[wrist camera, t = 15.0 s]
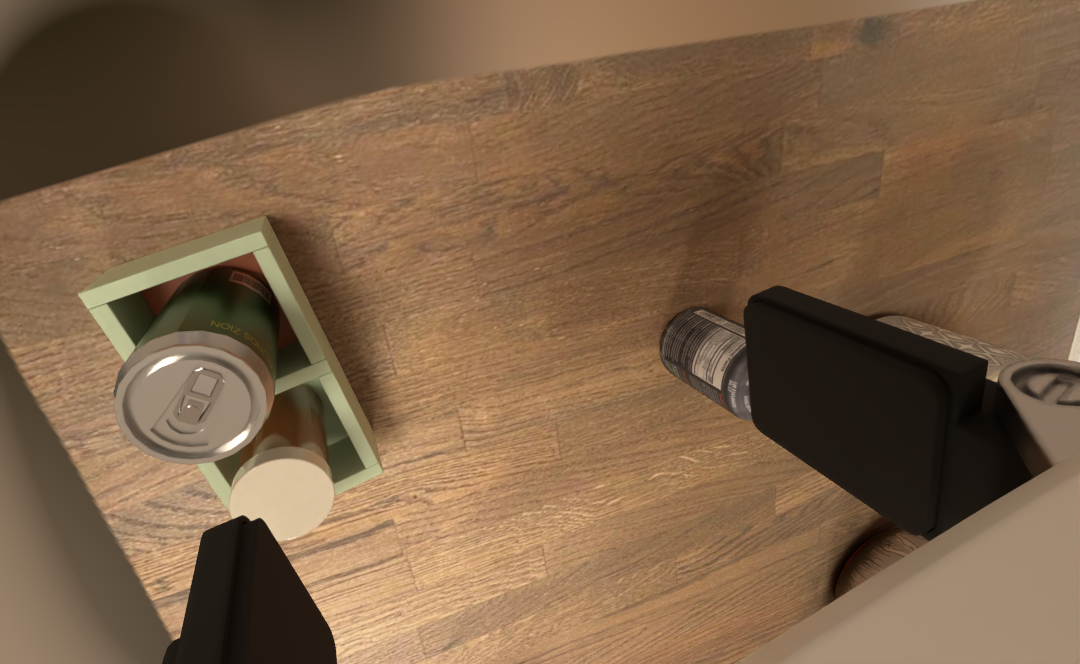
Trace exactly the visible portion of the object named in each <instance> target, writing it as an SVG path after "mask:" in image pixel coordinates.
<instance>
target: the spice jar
mask: <svg viewBox="0 0 1080 664" xmlns="http://www.w3.org/2000/svg"><path fill="white" fill-rule="evenodd" d="M334 499H335V490H334V480H333V474H332V471H331V469H330V461H329V451H328V441H327V431H326V421H325V411H324V405H323V402H322V400H321V398H320V396H319V395H318V394H317V393H316V392H315V391H314V390H313V389H311V388H310V387H308V386H306V385H304V384H300V385H298V386H295V387H293V388H291V389H288V390H286V391H283V392H281V393H279V394H276V395H275V396H274V401H273V405H272V408H271V411H270V415H269V417H268V419H267V420H266V421H265V423H264V424H263V425H262V427H261V429H260V430H259V431H258V433H257V434H256V435H255V437H254V438H253V439H252V441H251V442H250V443H249V444H247V445H246V446H244V447H243V448H242V449H240V454H239V460H238V465H237V471H236V475H235V477H234V480H233V483H232V487H231V493H230V499H229V511H230V515H231V517H232V519H234V518H237V517H239V516H241V515H244V516H246V517H247V518H249V519H250V521H253V520H255V519H257V518H262V519H263V520H264V521H265V523H266V524H267V526H268V527H269V529H270V531H271V532H272V534H273V536H274V537H275V539H276V540H277V541H286V540H291V539H294V538H298V537H300V536H303V535H305V534H307V533H309V532H310V531H312V530H313V529H315V528H316V527H317V526H319V525H320V524H321V523H322V522H323V521H324V520H325V518H326V517H327V516H328V514H329V512H330V511H331V509H332V506H333V503H334Z"/></svg>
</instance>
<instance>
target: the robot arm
mask: <svg viewBox="0 0 1080 664" xmlns="http://www.w3.org/2000/svg"><path fill="white" fill-rule="evenodd" d="M744 328H745V341H746V354H747V367H748V380H749V393H750V407H751V417H752V420H753V423H754V424H755V426H756V427H757V429H758V430H759V431H760V432H762V433H763V434H764V435H766V436H767V437H769V438H770V439H772V440H773V441H775V442H776V443H777V444H779V445H780V446H782V447H783V448H785V449H786V450H788V451H789V452H791V453H792V454H793V455H795V456H796V457H798V458H799V459H801V460H802V461H804V462H805V463H807V464H808V465H809V466H811V467H812V468H814V469H815V470H817V471H818V472H820V473H821V474H823V475H824V476H825V477H827V478H828V479H830V480H831V481H833V482H834V483H836V484H837V485H839V486H840V487H841V488H843V489H844V490H846V491H847V492H849V493H850V494H852V495H853V496H855V497H856V498H858V499H859V500H860V501H862V502H863V503H865V504H866V505H868V506H869V507H871V508H872V509H874V510H875V511H876V512H878V513H879V514H881V515H882V516H884V517H885V518H887V519H888V520H890V521H891V522H892V523H894V524H895V525H897V526H898V527H900V528H901V529H903V530H904V531H906V532H907V533H909V534H911V535H915V536H922V537H923V538H925V539H926V540H928V541H929V542H928V543H926V544H924V545H923V546H921V547H919V548H918V549H916V550H915V551H913V552H911V553H910V554H908V555H907V556H905V557H903V558H902V559H900V560H898V561H897V562H895V563H894V564H892V565H890V566H889V567H887V568H886V569H884V570H882V571H881V572H879V573H878V574H876V575H874V576H873V577H871V578H869V579H868V580H866V581H865V582H863V583H861V584H860V585H858V586H857V587H855V588H853V589H852V590H850V591H849V592H847V593H846V594H844V595H842V596H841V597H839V598H838V599H836V600H834V601H833V602H831V603H830V604H828V605H826V606H825V607H823V608H822V609H820V610H818V611H817V612H815V613H814V614H812V615H810V616H809V617H807V618H806V619H804V620H802V621H801V622H799V623H798V624H796V625H794V626H793V627H791V628H790V629H788V630H786V631H785V632H783V633H782V634H780V635H779V636H777V637H775V638H774V639H772V640H771V641H769V642H767V643H766V644H764V645H763V646H761V647H759V648H758V649H756V650H755V651H753V652H752V653H750V654H748V655H747V656H745V657H744V658H742V659H740V660H739V661H737V662H736V663H734V664H1080V363H1079V362H1075V361H1068V360H1062V359H1049V358H1035V359H1026V360H1020V361H1017V362H1014V363H1010V364H1008V365H1007V366H1005V367H1004V368H1003V369H1001V371H1000V373H999V376H998V380H997V382H995V381H992V380H989V379H987V378H986V375H987V368H988V361H989V360H986V359H984V358H981V357H978V356H975V355H973V354H970V353H967V352H964V351H961V350H959V349H956V348H953V347H950V346H947V345H945V344H942V343H939V342H936V341H934V340H931V339H928V338H925V337H922V336H920V335H917V334H914V333H911V332H908V331H906V330H903V329H900V328H897V327H895V326H892V325H889V324H886V323H883V322H881V321H878V320H875V319H872V318H869V317H867V316H864V315H861V314H858V313H856V312H853V311H850V310H847V309H844V308H842V307H839V306H836V305H833V304H830V303H828V302H825V301H822V300H819V299H817V298H814V297H811V296H808V295H805V294H803V293H800V292H797V291H794V290H792V289H789V288H786V287H783V286H774V287H771V288H769V289H767V290H764V291H762V292H760V293H757V294H755V295H753V296H752V297H750V298H749V301H748V306H746V307H745V309H744ZM162 664H337V658H336V647H335V642H334V638H333V635H332V632H331V630H330V628H329V626H328V624H327V622H326V621H325V619H324V617H323V616H322V614H321V612H320V611H319V609H318V607H317V606H316V604H315V603H314V601H313V599H312V598H311V596H310V594H309V593H308V591H307V590H306V588H305V586H304V585H303V583H302V581H301V580H300V578H299V576H298V575H297V573H296V572H295V570H294V568H293V567H292V565H291V563H290V562H289V560H288V558H287V557H286V555H285V554H284V552H283V550H282V549H281V547H280V545H279V544H278V542H277V540H276V539H275V537H274V536H273V534H272V532H271V531H270V529H269V527H268V526H267V524H266V523H265V521H264V520H263V519H262V518H257V519H255V520H253V521H250V519H249V518H247V517H246V516H244V515H241V516H239V517H237V518H234V519H232V520H230V521H227V522H225V523H223V524H220V525H218V526H216V527H213V528H211V529H209V530H206V531H205V532H204V533H203V535H202V537H201V542H200V547H199V551H198V556H197V561H196V565H195V570H194V575H193V580H192V584H191V589H190V594H189V598H188V603H187V608H186V613H185V617H184V622H183V627H182V631H181V636H180V638H179V639H177V640H174V641H173V642H172V643H171V644H170V645H169V647H168V648H167V651H166V653H165V656H164V659H163V663H162Z"/></svg>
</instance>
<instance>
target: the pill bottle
mask: <svg viewBox="0 0 1080 664" xmlns="http://www.w3.org/2000/svg"><path fill="white" fill-rule="evenodd" d="M660 356H661V359H662V362H663V364H664V366H665V368H666V369H667V370H668V371H669V372H670V373H672V374H673V375H674V376H676V377H677V378H679V379H681V380H682V381H684V382H685V383H687V384H688V385H690V386H691V387H693V388H694V389H696V390H697V391H699V392H700V393H702V394H703V395H705V396H706V397H708V398H709V399H711V400H713V401H714V402H716V403H717V404H719V405H720V406H722V407H723V408H725V409H726V410H728V411H729V412H731V413H732V414H734V415H735V416H737V417H739V418H741V419H743V420H747V421H753V420H752V417H751V407H750V393H749V380H748V367H747V354H746V341H745V328H744V325H741V324H739V323H737V322H734V321H732V320H730V319H728V318H725V317H723V316H721V315H719V314H717V313H714V312H712V311H710V310H707V309H704V308H692V309H688V310H686V311H684V312H682V313H681V314H679V315H678V316H677V317H675V318H674V319H673V320H672V321H671V323H670V324H669V325H668V327H667V328H666V330H665V332H664V334H663V337H662V340H661V345H660Z"/></svg>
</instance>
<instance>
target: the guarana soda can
mask: <svg viewBox="0 0 1080 664" xmlns="http://www.w3.org/2000/svg"><path fill="white" fill-rule="evenodd" d="M279 328H280V314H279V306H278V304H277V301H276V299H275V297H274V295H273V293H272V292H271V291H270V290H269V289H268V288H267V286H266V285H265V284H264V283H263V282H262V281H260V280H259V279H257V278H255V277H253V276H252V275H250V274H248V273H246V272H242V271H238V270H235V269H231V268H212V269H208V270H205V271H202V272H198V273H195V274H193V275H192V276H191V277H189V278H188V279H186V280H185V281H183V282H182V283H181V284H180V285H179V286H178V288H177V289H176V291H175V292H174V293H173V295H172V296H171V297H170V299H169V300H168V302H167V303H166V305H165V306H164V308H163V309H162V310H161V312H160V313H159V315H158V316H157V318H156V319H155V320H154V322H153V323H152V325H151V326H150V328H149V329H148V330H147V332H146V333H145V335H144V336H143V338H142V339H141V341H140V342H139V343H138V345H137V346H136V348H135V349H134V351H133V352H132V353H131V355H130V356H129V358H128V359H127V361H126V362H125V363H124V365H123V366H122V368H121V369H120V371H119V373H118V377H117V381H116V385H115V389H114V396H115V402H114V408H115V414H116V419H117V424H118V426H119V427H120V429H121V430H122V432H123V433H124V435H125V436H126V438H127V439H128V441H129V442H131V443H132V444H133V445H134V446H136V447H137V448H138V449H140V450H141V451H142V452H144V453H145V454H147V455H149V456H152V457H154V458H157V459H160V460H162V461H165V462H168V463H177V464H186V465H194V464H202V463H211V462H215V461H217V460H220V459H223V458H225V457H228V456H231V455H233V454H235V453H236V452H238V451H239V450H240V449H242V448H243V447H244V446H246V445H247V444H249V443H250V442H251V441H252V439H253V438H254V437H255V435H256V434H257V433H258V431H259V430H260V429H261V427H262V425H263V424H264V423H265V421H266V420H267V419H268V417H269V415H270V411H271V408H272V405H273V401H274V396H275V383H276V369H277V355H278V342H279Z"/></svg>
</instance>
